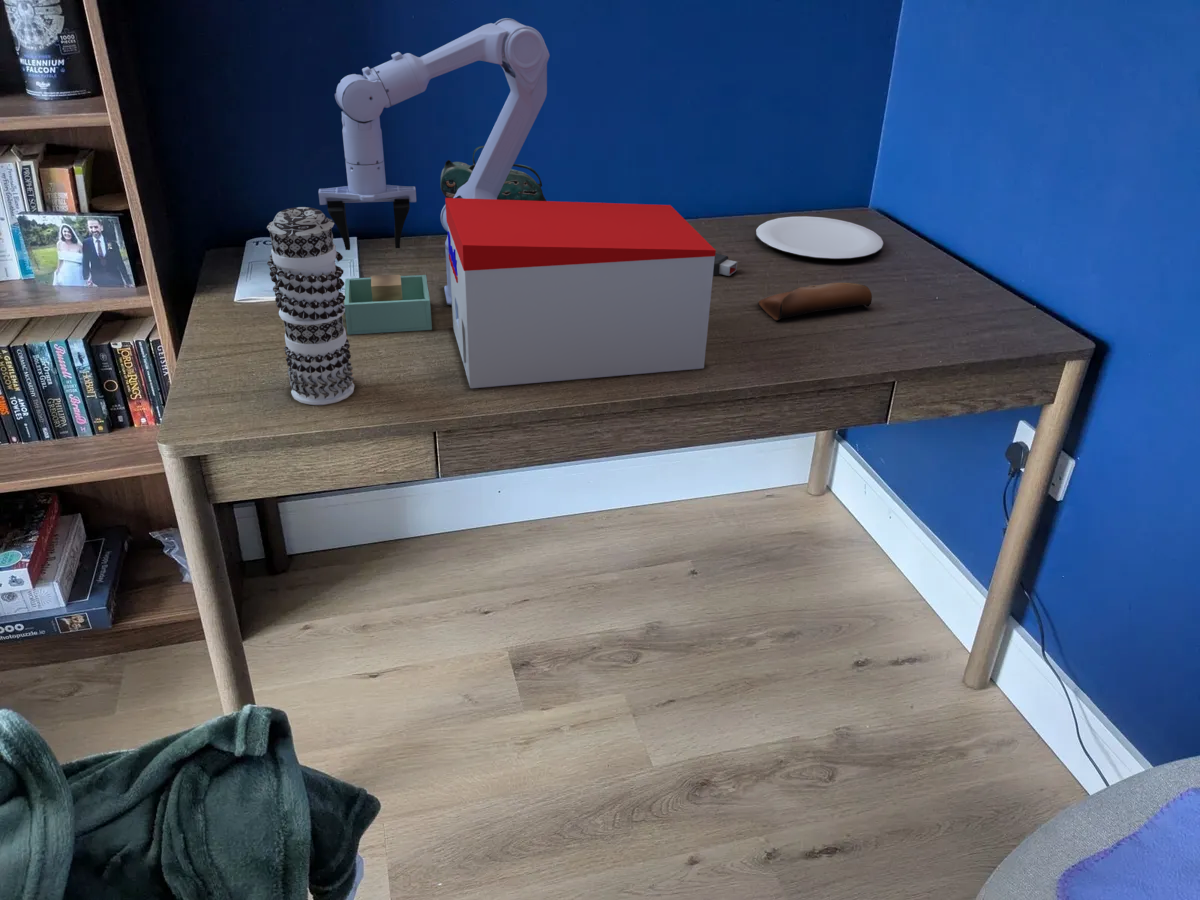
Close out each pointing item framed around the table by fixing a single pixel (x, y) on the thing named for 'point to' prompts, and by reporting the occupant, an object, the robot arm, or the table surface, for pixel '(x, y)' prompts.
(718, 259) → the usb drive
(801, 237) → the plate
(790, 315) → the sunglasses case
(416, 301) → the desk bin
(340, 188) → the robot arm
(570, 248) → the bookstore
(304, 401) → the decorative candle
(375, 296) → the beech block
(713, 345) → the table surface
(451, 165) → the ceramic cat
